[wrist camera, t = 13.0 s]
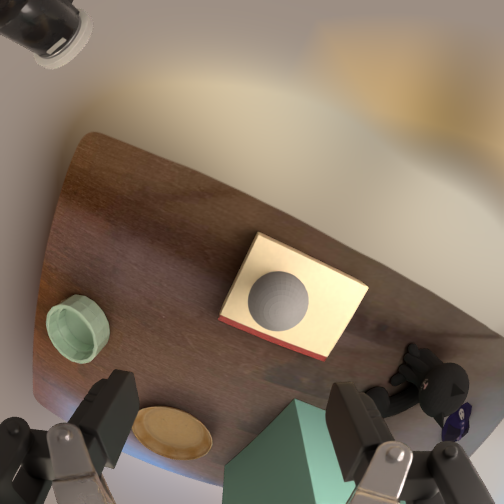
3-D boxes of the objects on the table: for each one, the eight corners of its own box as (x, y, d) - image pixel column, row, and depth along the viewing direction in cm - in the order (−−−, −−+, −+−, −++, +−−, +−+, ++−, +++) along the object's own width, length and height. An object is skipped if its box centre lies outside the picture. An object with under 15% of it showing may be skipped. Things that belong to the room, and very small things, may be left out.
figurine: (395, 330, 40) (445, 382, 26) (449, 344, 41) (496, 386, 27) (351, 407, 43) (378, 468, 28) (407, 412, 44) (438, 462, 29)
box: (304, 487, 48) (319, 577, 23) (224, 465, 46) (216, 572, 21) (377, 428, 45) (424, 528, 19) (294, 398, 42) (322, 537, 17)
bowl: (58, 290, 39) (41, 300, 34) (107, 297, 39) (91, 309, 34) (68, 342, 40) (53, 356, 36) (114, 352, 41) (102, 368, 36)
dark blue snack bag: (476, 396, 45) (484, 405, 41) (463, 434, 48) (470, 443, 44) (446, 413, 45) (454, 423, 41) (435, 449, 48) (441, 459, 44)
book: (219, 310, 39) (217, 319, 36) (257, 231, 37) (258, 234, 34) (319, 350, 41) (324, 361, 38) (360, 280, 39) (369, 287, 36)
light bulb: (273, 246, 34) (283, 267, 25) (307, 280, 35) (327, 312, 25) (237, 280, 35) (233, 313, 25) (271, 312, 36) (279, 353, 26)
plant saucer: (123, 422, 44) (118, 431, 41) (157, 383, 42) (153, 393, 39) (186, 459, 46) (184, 468, 43) (230, 427, 44) (229, 437, 41)
